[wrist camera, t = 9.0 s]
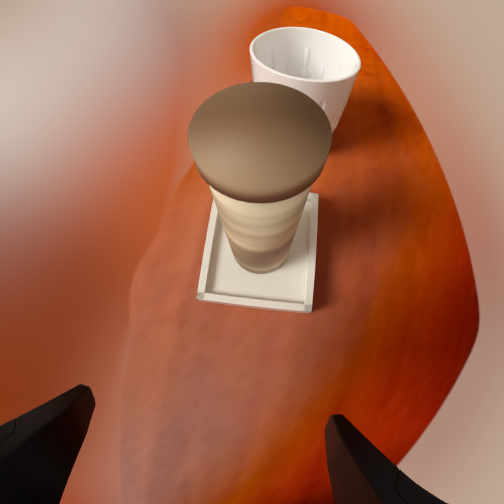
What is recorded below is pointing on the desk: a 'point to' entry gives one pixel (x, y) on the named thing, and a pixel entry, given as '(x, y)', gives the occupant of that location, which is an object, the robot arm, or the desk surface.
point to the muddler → (260, 165)
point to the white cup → (307, 65)
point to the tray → (261, 285)
